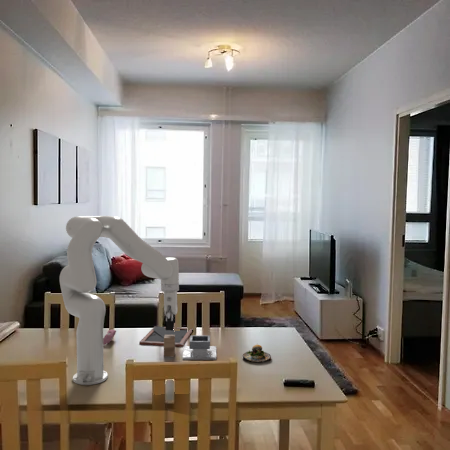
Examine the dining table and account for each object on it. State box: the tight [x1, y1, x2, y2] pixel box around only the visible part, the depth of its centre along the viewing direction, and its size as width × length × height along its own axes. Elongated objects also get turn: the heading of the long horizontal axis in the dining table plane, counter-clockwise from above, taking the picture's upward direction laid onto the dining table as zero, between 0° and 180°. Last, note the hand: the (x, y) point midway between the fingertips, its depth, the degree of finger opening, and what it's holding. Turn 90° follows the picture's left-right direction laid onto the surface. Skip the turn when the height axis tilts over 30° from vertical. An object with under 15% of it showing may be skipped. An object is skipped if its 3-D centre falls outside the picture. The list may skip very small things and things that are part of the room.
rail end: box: [163, 335, 176, 357], centre depth 205 cm, size 4×4×8 cm
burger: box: [242, 344, 272, 363], centre depth 201 cm, size 12×12×8 cm
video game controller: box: [103, 329, 117, 346], centre depth 220 cm, size 10×5×7 cm, turn 179°
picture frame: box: [139, 325, 193, 348], centre depth 229 cm, size 20×2×25 cm
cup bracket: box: [182, 334, 217, 361], centre depth 206 cm, size 14×14×7 cm
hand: (170, 326), depth 205 cm, fingers open, 9 cm apart
